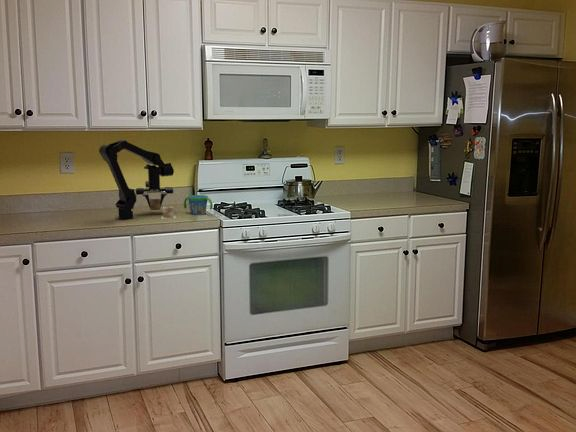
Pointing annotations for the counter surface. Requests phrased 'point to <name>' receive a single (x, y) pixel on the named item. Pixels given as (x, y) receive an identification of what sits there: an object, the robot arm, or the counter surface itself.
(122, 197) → the robot arm
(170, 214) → the birch block
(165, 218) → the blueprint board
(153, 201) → the walnut block
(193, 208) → the snack cup
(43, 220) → the counter surface
